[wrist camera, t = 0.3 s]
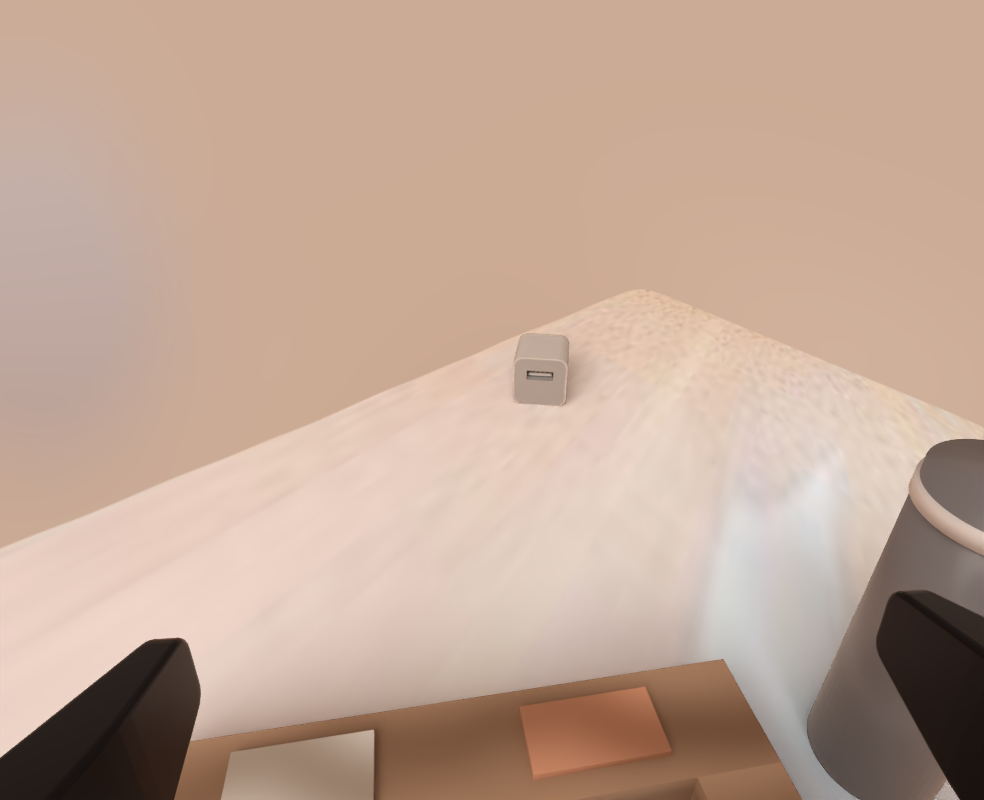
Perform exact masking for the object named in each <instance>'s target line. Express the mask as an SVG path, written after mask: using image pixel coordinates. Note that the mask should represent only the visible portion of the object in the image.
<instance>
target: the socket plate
mask: <svg viewBox="0 0 984 800" xmlns="http://www.w3.org/2000/svg"><path fill="white" fill-rule="evenodd" d="M174 800H802V798H801V797H800V795H799V793H798V791H797V790H796V788H795V786H794V784H793V782H792V781H791V779H790V777H789V775H788V774H787V772H786V770H785V768H784V766H783V765H782V763H781V761H780V759H779V757H778V756H777V754H776V752H775V750H774V749H773V747H772V745H771V743H770V741H769V740H768V738H767V736H766V734H765V733H764V731H763V729H762V727H761V725H760V724H759V722H758V720H757V718H756V717H755V715H754V713H753V711H752V709H751V708H750V706H749V704H748V702H747V701H746V699H745V697H744V695H743V693H742V692H741V690H740V688H739V686H738V685H737V683H736V681H735V679H734V677H733V676H732V674H731V672H730V670H729V669H728V667H727V665H726V663H725V661H724V660H723V659H721V660H714V661H708V662H702V663H695V664H689V665H682V666H676V667H669V668H663V669H656V670H650V671H643V672H637V673H630V674H624V675H618V676H611V677H605V678H598V679H592V680H585V681H579V682H572V683H566V684H559V685H553V686H546V687H540V688H533V689H527V690H521V691H514V692H508V693H501V694H495V695H488V696H482V697H475V698H469V699H462V700H456V701H449V702H443V703H437V704H430V705H424V706H417V707H411V708H404V709H398V710H391V711H385V712H378V713H372V714H365V715H359V716H353V717H346V718H340V719H333V720H327V721H320V722H314V723H307V724H301V725H294V726H288V727H281V728H275V729H269V730H262V731H256V732H249V733H243V734H236V735H230V736H223V737H217V738H210V739H204V740H197V741H191V742H190V743H189V747H188V750H187V754H186V758H185V762H184V765H183V769H182V773H181V777H180V780H179V784H178V788H177V792H176V795H175V799H174Z"/></svg>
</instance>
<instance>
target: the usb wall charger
mask: <svg viewBox="0 0 984 800" xmlns="http://www.w3.org/2000/svg"><path fill="white" fill-rule="evenodd" d="M568 355H569V340H568V339H567V338H566V337H565V336H563V335H550V334H531V333H526V334H523V335H522V336H521V337H520V339H519V342H518V347H517V351H516V355H515V359H514V364H513V399H514V401H515V402H517V403H518V404H530V405H545V406H561V405H563V404H564V402H565V400H566V386H567V371H568Z"/></svg>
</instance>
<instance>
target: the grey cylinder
mask: <svg viewBox="0 0 984 800" xmlns="http://www.w3.org/2000/svg"><path fill="white" fill-rule="evenodd" d="M916 589H923V590H928V591H931V592H934V593H936V594H938V595H940V596H942V597H944V598H946V599H948V600H950V601H952V602H954V603H956V604H958V605H960V606H963V607H965V608H967V609H969V610H971V611H973V612H975V613H977V614H979V615H981V616H983V617H984V440H976V439H957V440H949V441H945V442H941V443H939V444H936V445H934V446H933V447H932V448H930V450H929V451H928V452H927V454H926V457H925V458H923V459H922V460H921V461H920V462H919V463H918V465H917V467H916V469H915V471H914V473H913V476H912V478H911V480H910V483H909V494H908V497H907V499H906V501H905V503H904V505H903V508H902V510H901V512H900V514H899V517H898V519H897V521H896V523H895V525H894V528H893V530H892V532H891V534H890V537H889V539H888V541H887V543H886V545H885V548H884V550H883V552H882V554H881V556H880V559H879V561H878V563H877V565H876V568H875V570H874V572H873V574H872V576H871V579H870V581H869V583H868V585H867V588H866V590H865V592H864V594H863V596H862V599H861V601H860V603H859V605H858V608H857V610H856V612H855V614H854V616H853V619H852V621H851V623H850V625H849V628H848V630H847V632H846V634H845V636H844V639H843V641H842V643H841V645H840V648H839V650H838V652H837V654H836V656H835V659H834V661H833V663H832V665H831V667H830V670H829V672H828V674H827V676H826V679H825V681H824V683H823V685H822V687H821V690H820V692H819V694H818V696H817V699H816V701H815V703H814V705H813V707H812V710H811V712H810V714H809V717H808V722H807V732H808V738H809V741H810V745H811V747H812V749H813V752H814V754H815V755H816V757H817V759H818V761H819V762H820V763H821V765H822V766H823V768H824V769H825V770H826V771H827V773H828V774H829V775H830V776H831V777H832V778H833V779H834V780H835V781H836V782H837V783H838V784H839V785H840V786H842V787H843V788H844V789H845V790H846V791H848V792H849V793H851V794H852V795H853V796H855V797H857V798H858V799H860V800H933V799H934V797H935V796H936V794H937V793H938V792H939V790H940V789H941V787H942V786H943V785H944V783H945V782H946V780H947V779H946V777H945V776H944V774H943V772H942V770H941V769H940V767H939V765H938V764H937V762H936V760H935V758H934V757H933V755H932V753H931V751H930V749H929V748H928V746H927V744H926V742H925V740H924V738H923V737H922V735H921V733H920V731H919V729H918V727H917V726H916V724H915V722H914V720H913V718H912V716H911V715H910V713H909V711H908V709H907V707H906V706H905V704H904V702H903V700H902V698H901V696H900V695H899V693H898V691H897V689H896V687H895V685H894V684H893V682H892V680H891V678H890V676H889V674H888V673H887V671H886V669H885V667H884V665H883V664H882V662H881V660H880V658H879V656H878V653H877V650H876V644H875V638H876V634H877V631H878V628H879V624H880V621H881V618H882V615H883V612H884V609H885V606H886V603H887V600H888V598H889V596H890V595H891V594H892V593H893V592H895V591H900V590H916Z"/></svg>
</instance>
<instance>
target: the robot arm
mask: <svg viewBox="0 0 984 800" xmlns="http://www.w3.org/2000/svg"><path fill="white" fill-rule="evenodd" d="M875 644H876V650H877V653H878V656H879V658H880V660H881V662H882V664H883V665H884V667H885V669H886V671H887V673H888V674H889V676H890V678H891V680H892V682H893V684H894V685H895V687H896V689H897V691H898V693H899V695H900V696H901V698H902V700H903V702H904V704H905V706H906V707H907V709H908V711H909V713H910V715H911V716H912V718H913V720H914V722H915V724H916V726H917V727H918V729H919V731H920V733H921V735H922V737H923V738H924V740H925V742H926V744H927V746H928V748H929V749H930V751H931V753H932V755H933V757H934V758H935V760H936V762H937V764H938V765H939V767H940V769H941V770H942V772H943V774H944V776H945V777H946V779H947V780H948V782H949V784H950V785H951V787H952V788H953V790H954V791H955V793H956V795H957V796H958V798H959V799H960V800H984V617H983V616H981V615H979V614H977V613H975V612H973V611H971V610H969V609H967V608H965V607H963V606H960V605H958V604H956V603H954V602H952V601H950V600H948V599H946V598H944V597H942V596H940V595H938V594H936V593H934V592H931V591H928V590H923V589H916V590H900V591H895V592H893V593H892V594H891V595H890V596H889V598H888V600H887V603H886V606H885V609H884V612H883V615H882V618H881V621H880V624H879V628H878V631H877V634H876V638H875ZM200 697H201V690H200V683H199V680H198V676H197V673H196V669H195V666H194V662H193V659H192V655H191V652H190V648H189V646H188V643H187V642H186V641H185V640H184V639H182V638H167V639H153V640H149V641H147V642H145V643H144V644H142V645H141V646H139V647H138V648H137V649H136V650H134V651H133V652H132V653H131V654H129V655H128V656H127V657H126V658H124V659H123V660H122V661H121V662H119V663H118V664H117V665H116V666H114V667H113V668H112V669H111V670H109V671H108V672H107V673H106V674H104V675H103V676H102V677H101V678H99V679H98V680H97V681H96V682H94V683H93V684H92V685H91V686H89V687H88V688H87V689H86V690H84V691H83V692H82V693H81V694H79V695H78V696H77V697H76V698H74V699H73V700H72V701H71V702H69V703H68V704H67V705H66V706H64V707H63V708H62V709H61V710H59V711H58V712H57V713H56V714H54V715H53V716H52V717H51V718H49V719H48V720H47V721H46V722H44V723H43V724H42V725H41V726H39V727H38V728H37V729H36V730H34V731H33V732H32V733H31V734H29V735H28V736H27V737H26V738H24V739H23V740H22V741H21V742H19V743H18V744H17V745H16V746H14V747H13V748H12V749H11V750H9V751H8V752H7V753H6V754H4V755H3V756H2V757H1V758H0V800H174V799H175V795H176V792H177V788H178V784H179V780H180V777H181V773H182V769H183V765H184V762H185V758H186V754H187V750H188V747H189V743H190V739H191V735H192V732H193V728H194V724H195V720H196V717H197V713H198V709H199V705H200Z"/></svg>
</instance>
